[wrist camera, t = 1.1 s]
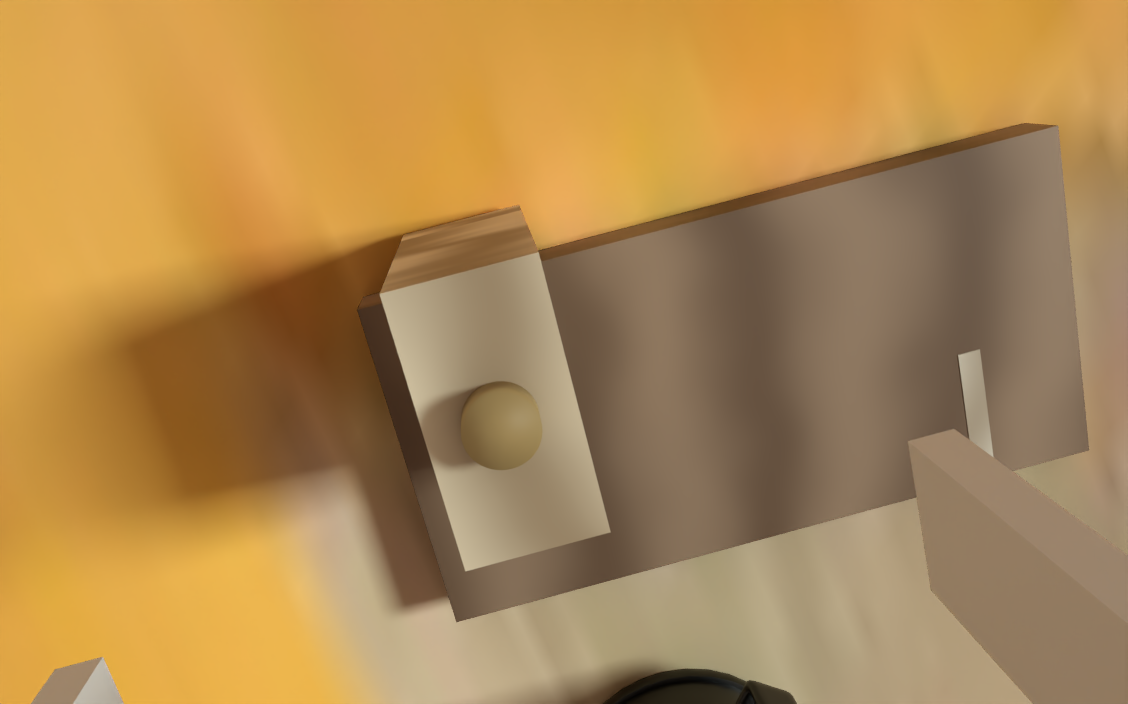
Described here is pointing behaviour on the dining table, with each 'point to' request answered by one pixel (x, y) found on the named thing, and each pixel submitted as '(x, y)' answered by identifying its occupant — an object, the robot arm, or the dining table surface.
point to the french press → (699, 690)
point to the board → (793, 356)
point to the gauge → (492, 388)
